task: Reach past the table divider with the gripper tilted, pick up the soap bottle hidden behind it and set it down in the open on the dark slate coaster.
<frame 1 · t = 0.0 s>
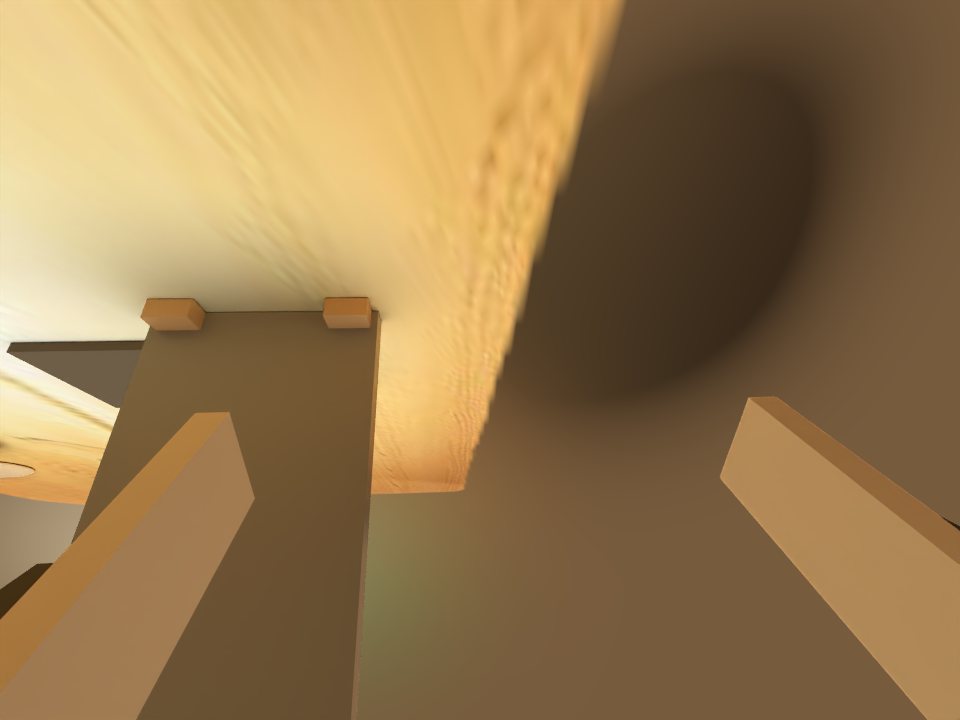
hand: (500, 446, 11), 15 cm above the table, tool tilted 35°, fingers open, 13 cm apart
divider: (273, 317, 32), on the table
coaster: (142, 374, 38), on the table
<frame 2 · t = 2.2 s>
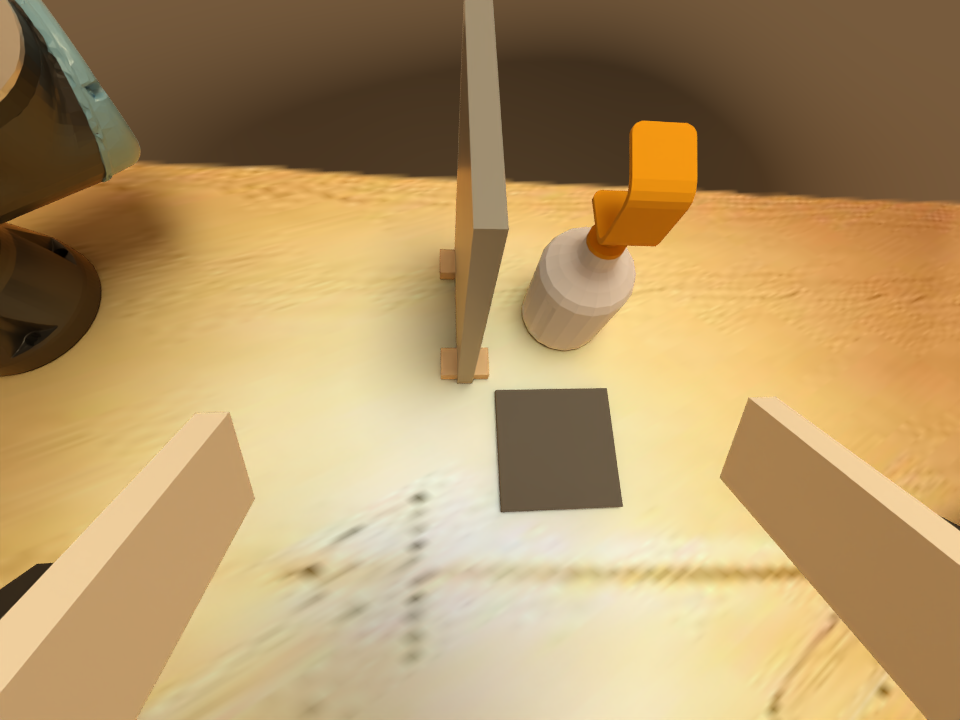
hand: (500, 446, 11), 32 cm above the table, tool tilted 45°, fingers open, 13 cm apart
divider: (462, 314, 47), on the table
coaster: (555, 447, 43), on the table
soap bottle: (559, 315, 48), on the table
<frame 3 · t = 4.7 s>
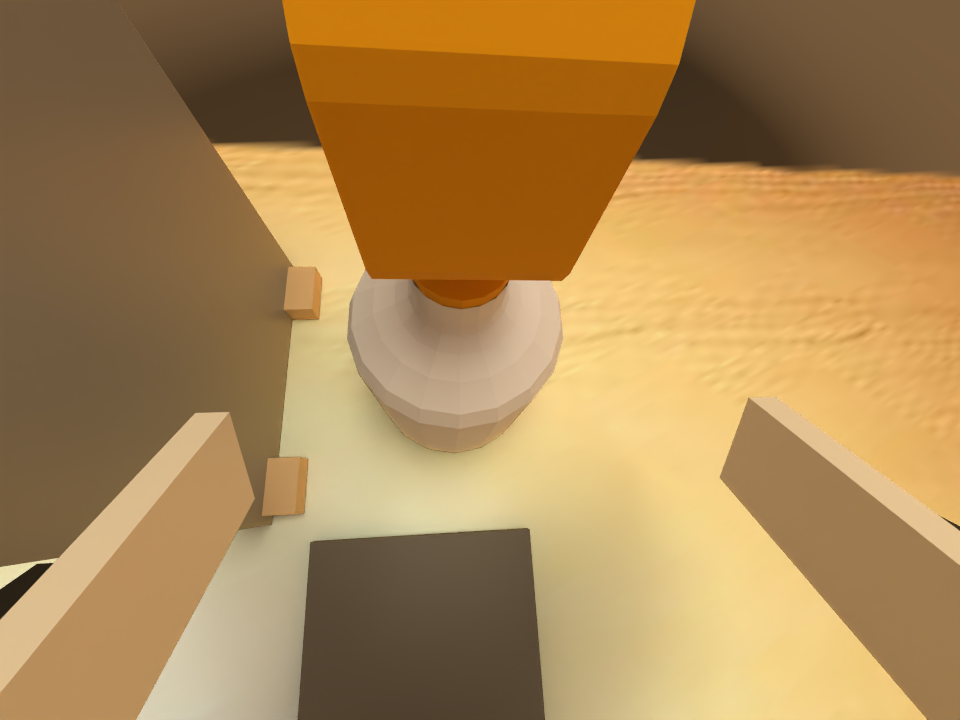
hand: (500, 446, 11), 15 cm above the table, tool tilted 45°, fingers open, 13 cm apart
divider: (272, 386, 26), on the table
coaster: (424, 657, 22), on the table
soap bottle: (453, 382, 27), on the table
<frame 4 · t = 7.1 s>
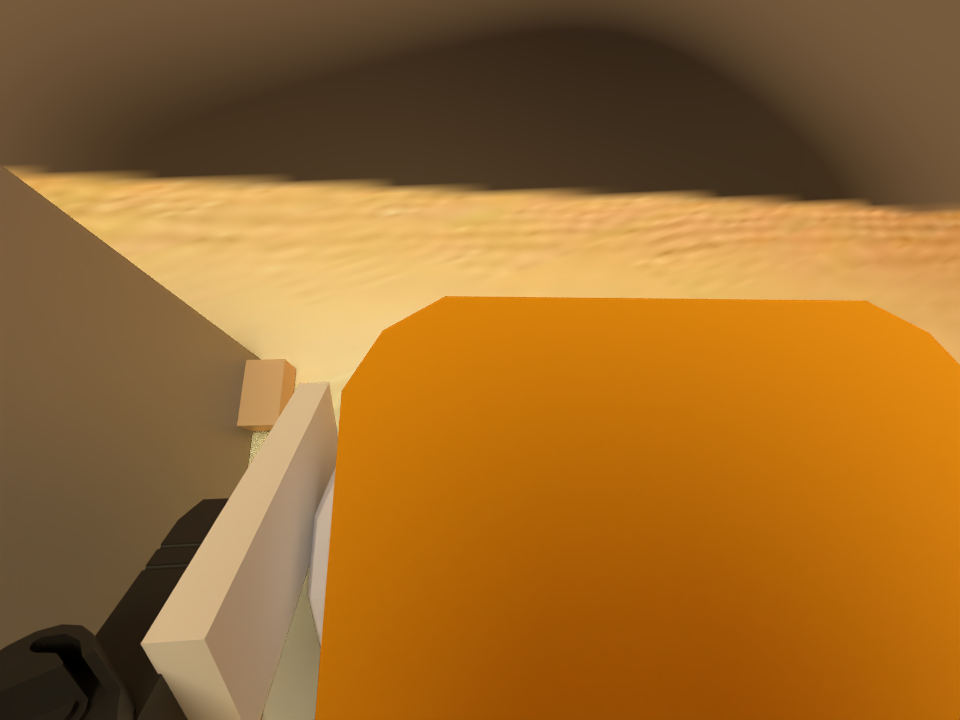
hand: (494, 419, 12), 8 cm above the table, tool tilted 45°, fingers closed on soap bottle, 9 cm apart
divider: (219, 536, 18), on the table
soap bottle: (478, 523, 19), on the table, touching gripper
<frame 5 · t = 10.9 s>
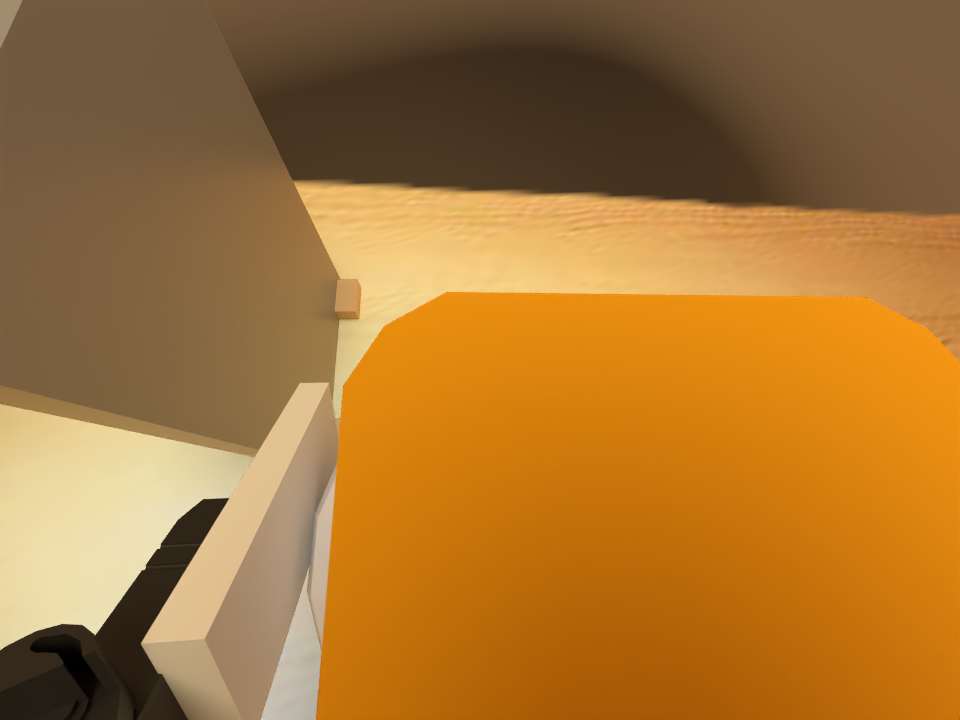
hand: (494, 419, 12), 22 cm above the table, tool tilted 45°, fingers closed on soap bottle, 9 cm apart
divider: (325, 368, 35), on the table
soap bottle: (478, 522, 19), point 14 cm above the table, touching gripper
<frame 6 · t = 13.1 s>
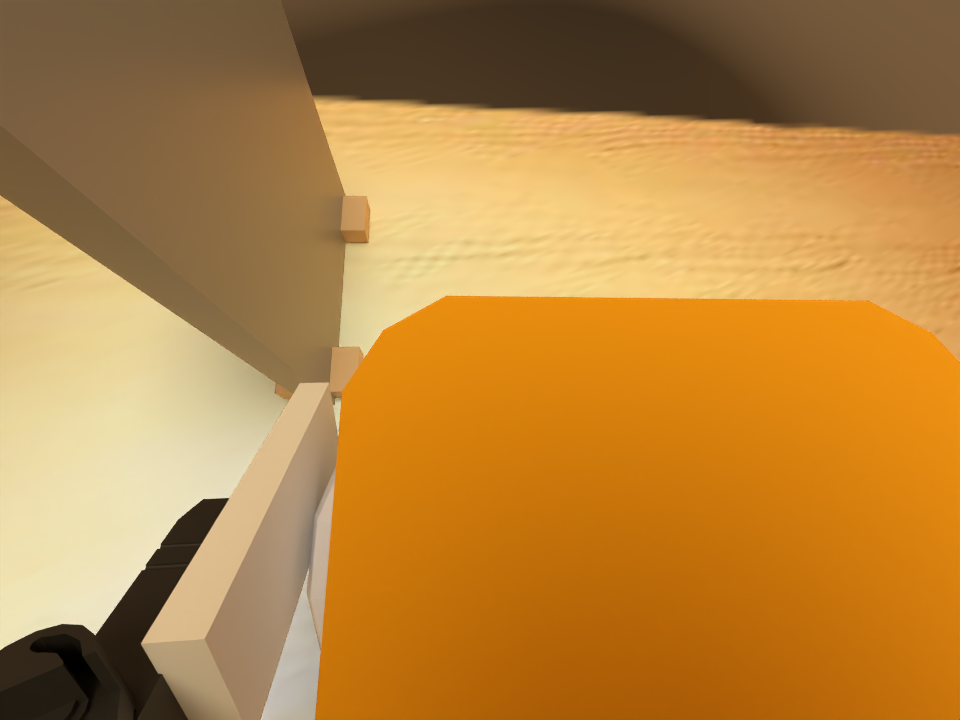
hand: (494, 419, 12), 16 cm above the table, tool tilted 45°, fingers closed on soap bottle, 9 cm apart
divider: (330, 295, 30), on the table
soap bottle: (478, 523, 19), point 7 cm above the table, touching gripper
when the fingers open (10 cm above the table, at t = 14.9 s): soap bottle drops 1 cm, resting on coaster.
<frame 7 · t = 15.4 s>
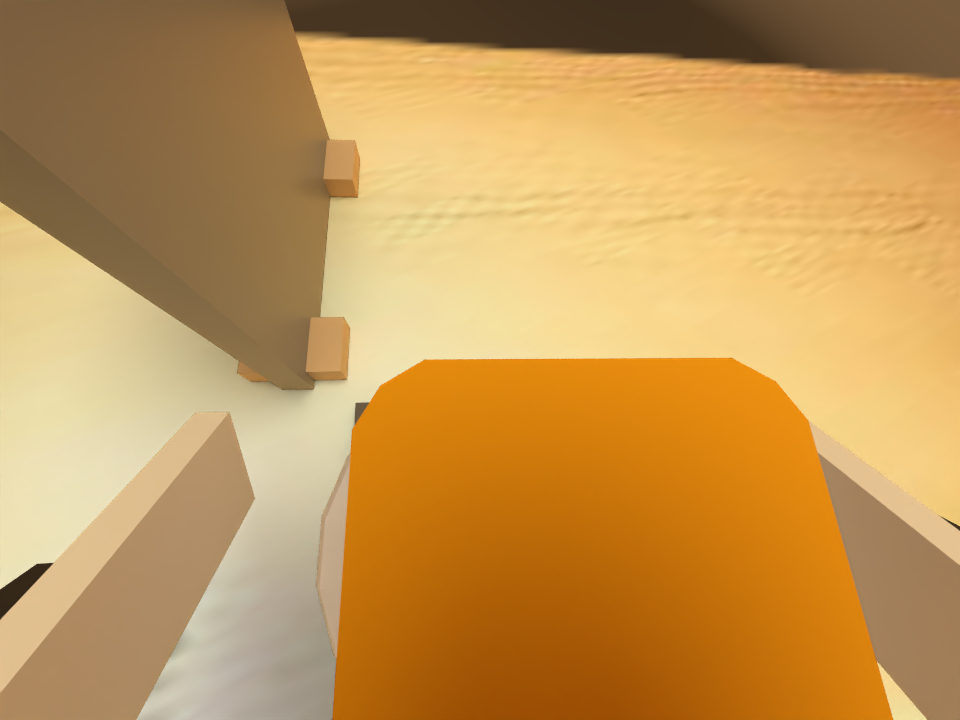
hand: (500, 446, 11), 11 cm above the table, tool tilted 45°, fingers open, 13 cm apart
divider: (311, 258, 25), on the table
soap bottle: (474, 522, 20), point 1 cm above the table, touching coaster
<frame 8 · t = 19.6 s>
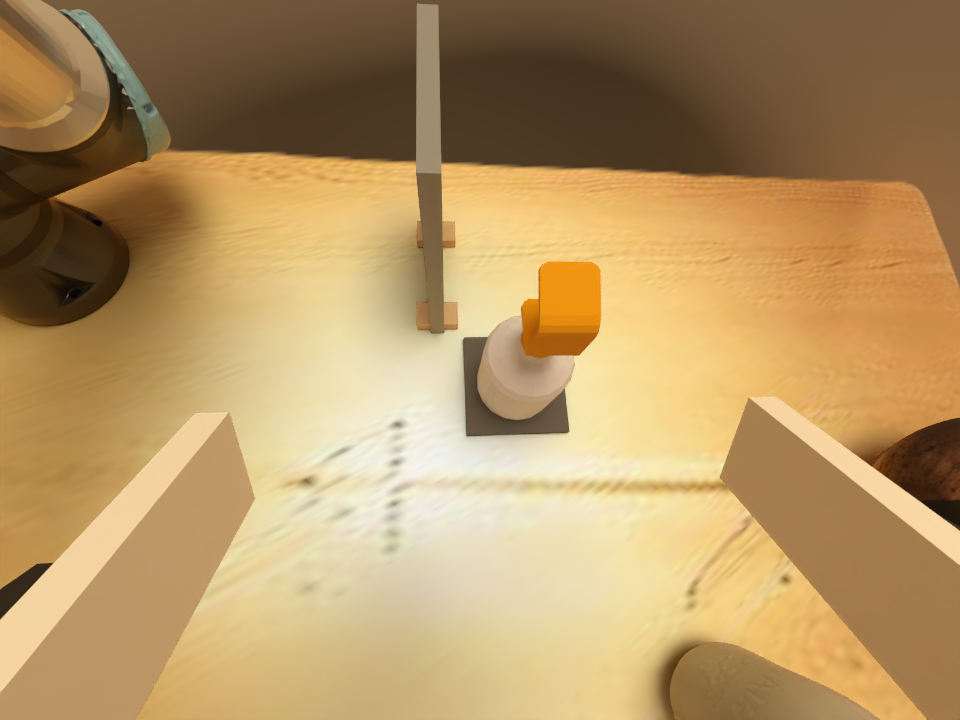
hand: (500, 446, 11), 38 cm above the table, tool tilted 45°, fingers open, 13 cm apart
divider: (437, 276, 55), on the table
coaster: (514, 384, 51), on the table
ceramic vessel: (894, 505, 50), on the table
soap bottle: (513, 383, 50), point 1 cm above the table, touching coaster
glass bottle: (700, 684, 42), on the table
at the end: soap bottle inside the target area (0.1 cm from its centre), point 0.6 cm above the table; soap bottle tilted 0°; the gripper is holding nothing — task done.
